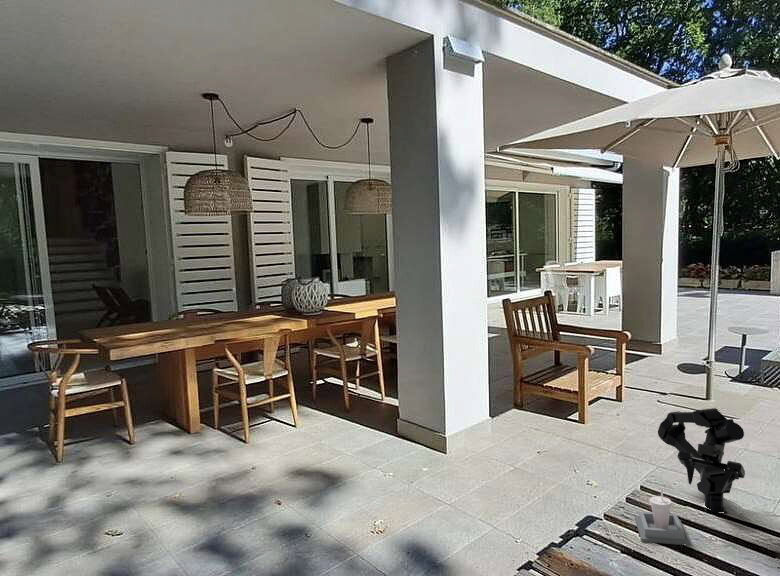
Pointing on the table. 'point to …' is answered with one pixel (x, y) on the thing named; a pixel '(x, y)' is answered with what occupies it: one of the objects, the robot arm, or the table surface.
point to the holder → (661, 530)
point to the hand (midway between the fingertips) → (705, 487)
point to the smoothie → (661, 510)
